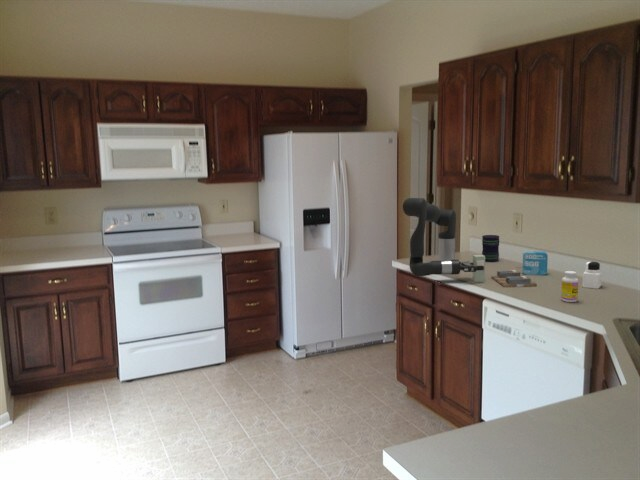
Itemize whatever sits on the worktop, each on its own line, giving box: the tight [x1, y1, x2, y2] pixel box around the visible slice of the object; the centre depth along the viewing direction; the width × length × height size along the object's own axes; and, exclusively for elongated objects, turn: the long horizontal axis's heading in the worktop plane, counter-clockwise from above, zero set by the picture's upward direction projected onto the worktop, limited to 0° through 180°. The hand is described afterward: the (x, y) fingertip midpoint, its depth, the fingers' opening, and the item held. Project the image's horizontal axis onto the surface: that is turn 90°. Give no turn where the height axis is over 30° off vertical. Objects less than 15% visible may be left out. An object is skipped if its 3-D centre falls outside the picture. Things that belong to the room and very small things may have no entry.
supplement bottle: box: [560, 270, 579, 303], centre depth 248 cm, size 7×7×13 cm
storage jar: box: [481, 234, 500, 263], centre depth 338 cm, size 10×10×15 cm
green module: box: [472, 254, 486, 283], centre depth 289 cm, size 5×5×13 cm
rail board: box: [490, 269, 538, 288], centre depth 285 cm, size 20×16×4 cm
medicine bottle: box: [582, 261, 602, 290], centre depth 271 cm, size 7×7×12 cm
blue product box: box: [522, 250, 548, 276], centre depth 301 cm, size 12×4×12 cm, turn 73°
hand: (481, 266), depth 289 cm, fingers open, 8 cm apart
